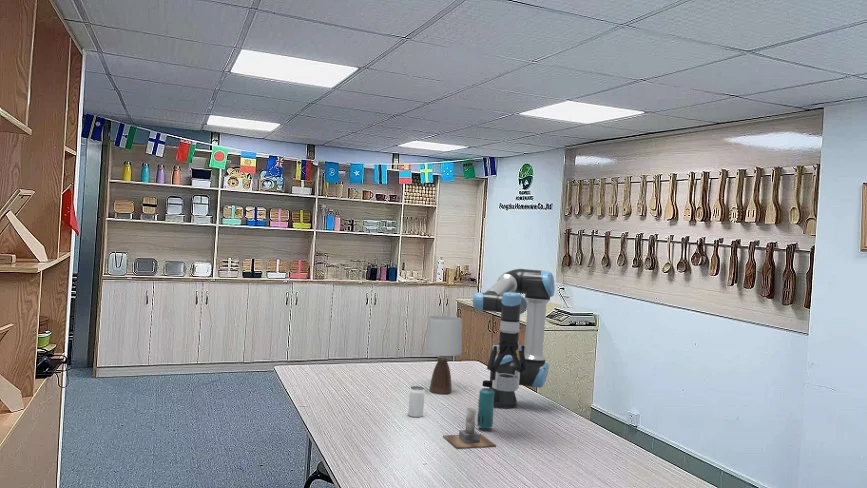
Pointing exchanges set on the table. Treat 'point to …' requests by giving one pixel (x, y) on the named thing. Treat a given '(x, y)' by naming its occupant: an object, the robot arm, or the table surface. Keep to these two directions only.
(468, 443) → the peg on square base
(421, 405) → the can
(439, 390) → the lamp
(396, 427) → the table surface
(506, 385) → the hub
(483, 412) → the beverage bottle
